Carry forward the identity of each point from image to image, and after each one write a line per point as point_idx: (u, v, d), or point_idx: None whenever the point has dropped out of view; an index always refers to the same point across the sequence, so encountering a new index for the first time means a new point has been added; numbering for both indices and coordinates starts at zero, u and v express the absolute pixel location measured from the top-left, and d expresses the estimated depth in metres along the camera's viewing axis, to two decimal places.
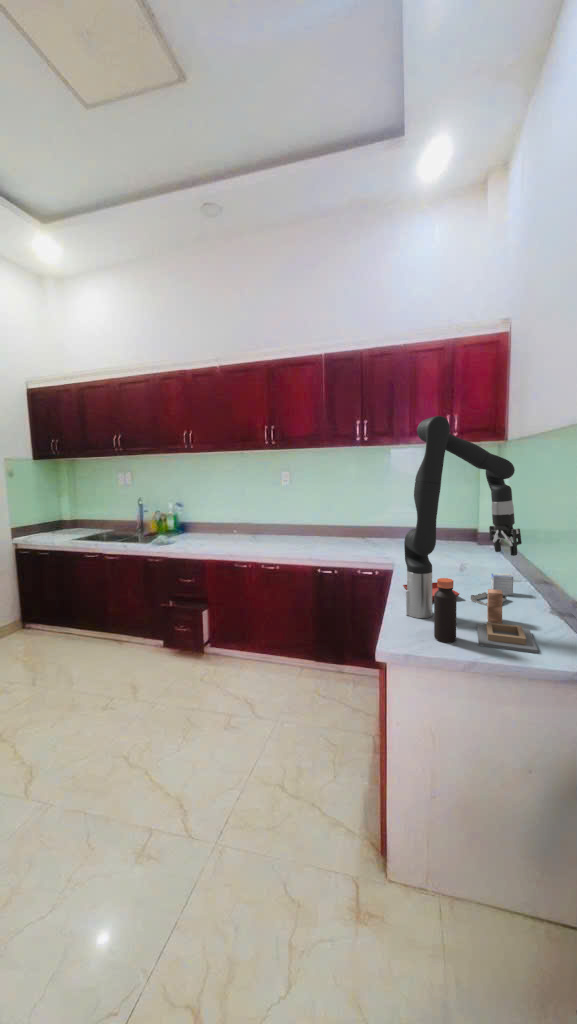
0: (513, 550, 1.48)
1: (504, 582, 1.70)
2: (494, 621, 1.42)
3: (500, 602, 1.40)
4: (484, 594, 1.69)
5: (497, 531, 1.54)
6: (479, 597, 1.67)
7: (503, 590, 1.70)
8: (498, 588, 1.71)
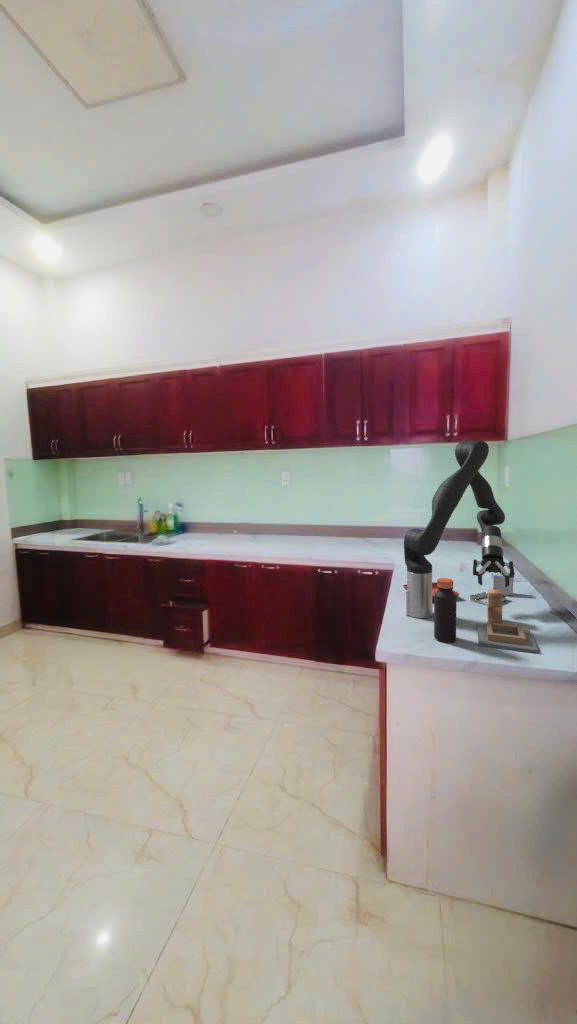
0: (508, 580, 1.47)
1: (504, 582, 1.70)
2: (494, 621, 1.42)
3: (500, 602, 1.40)
4: (483, 594, 1.69)
5: (489, 562, 1.53)
6: (478, 597, 1.68)
7: (503, 590, 1.70)
8: (498, 588, 1.71)
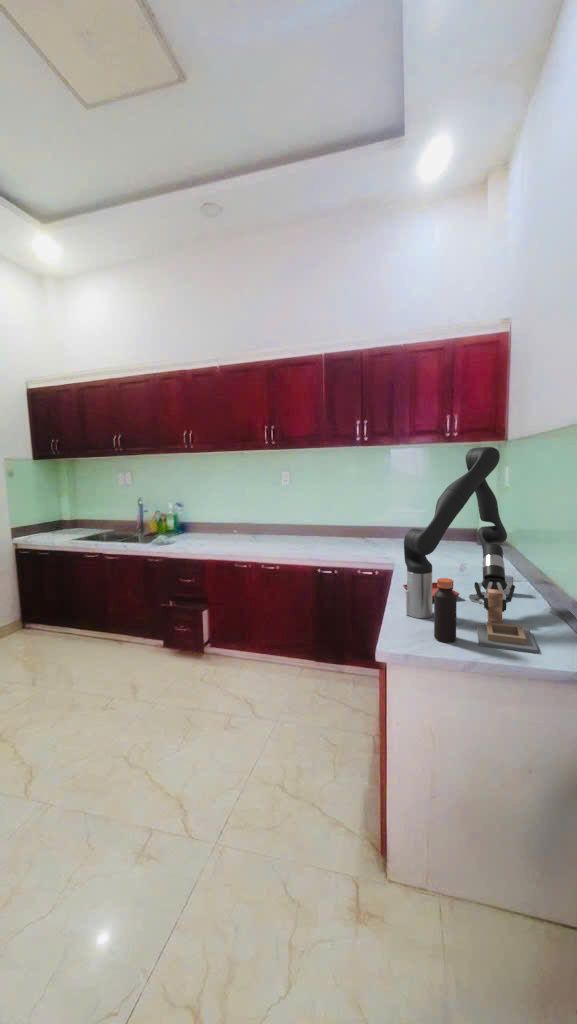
0: (505, 604, 1.41)
1: None
2: (494, 621, 1.42)
3: (500, 602, 1.40)
4: (482, 593, 1.69)
5: (490, 583, 1.46)
6: (477, 596, 1.68)
7: None
8: None
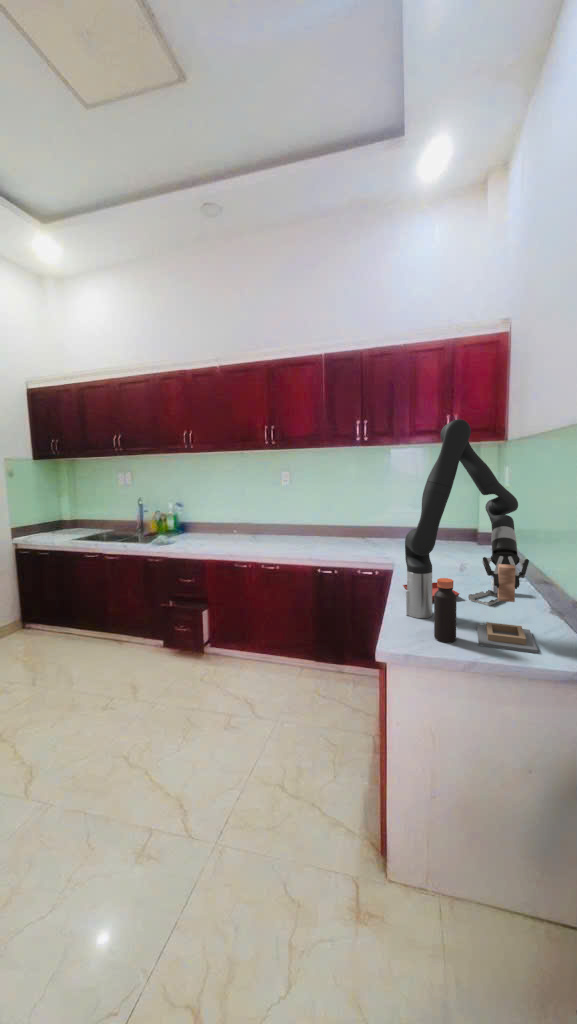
0: (518, 581, 1.24)
1: None
2: (505, 599, 1.25)
3: (512, 578, 1.24)
4: (481, 593, 1.70)
5: (501, 557, 1.30)
6: (477, 596, 1.68)
7: None
8: None
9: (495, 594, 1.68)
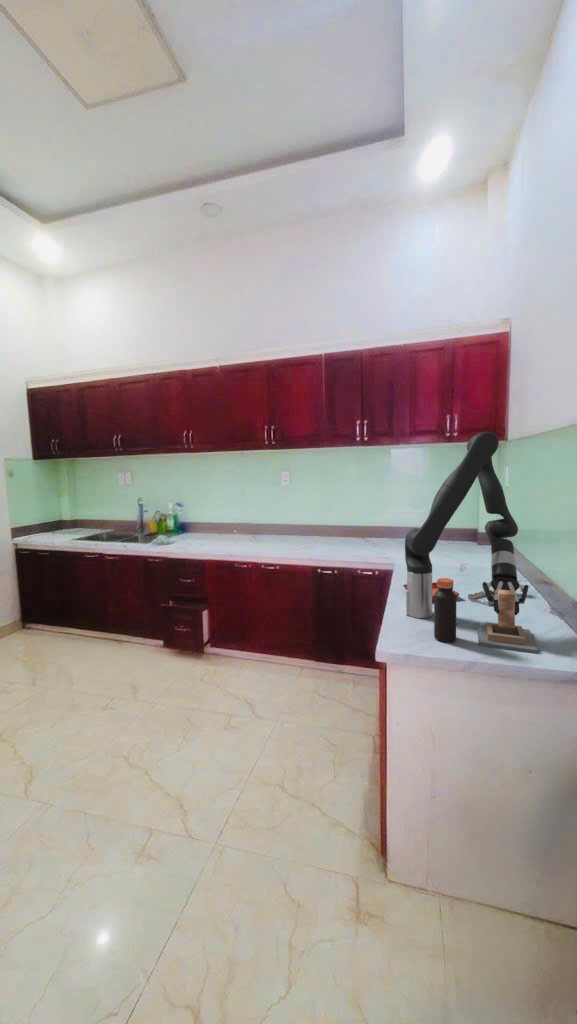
0: (518, 607, 1.25)
1: None
2: (506, 626, 1.26)
3: (512, 604, 1.25)
4: (481, 593, 1.70)
5: (501, 583, 1.30)
6: (476, 596, 1.69)
7: None
8: None
9: None
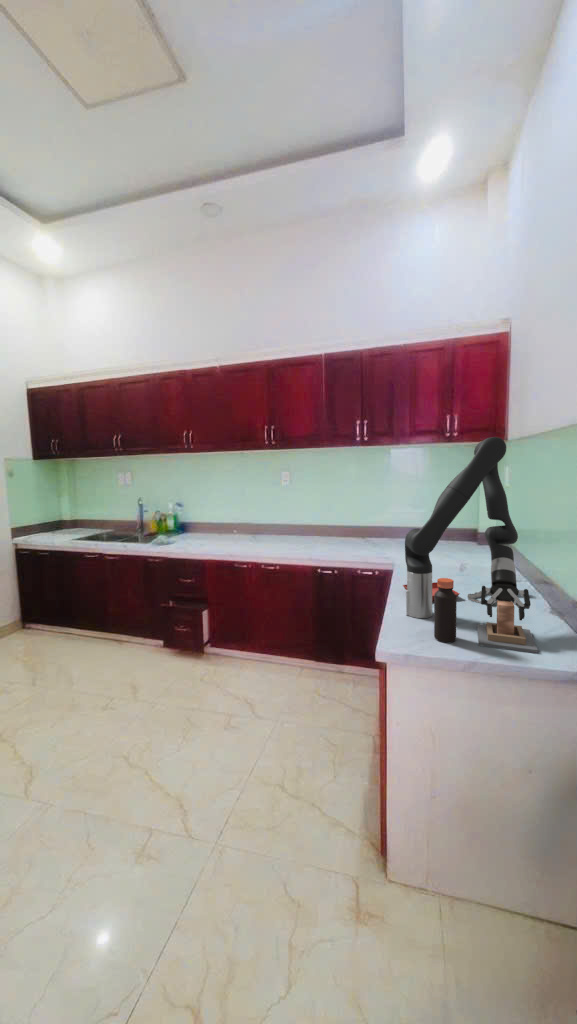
0: (523, 612, 1.25)
1: None
2: None
3: (512, 616, 1.25)
4: None
5: (500, 589, 1.31)
6: (476, 596, 1.69)
7: None
8: None
9: None
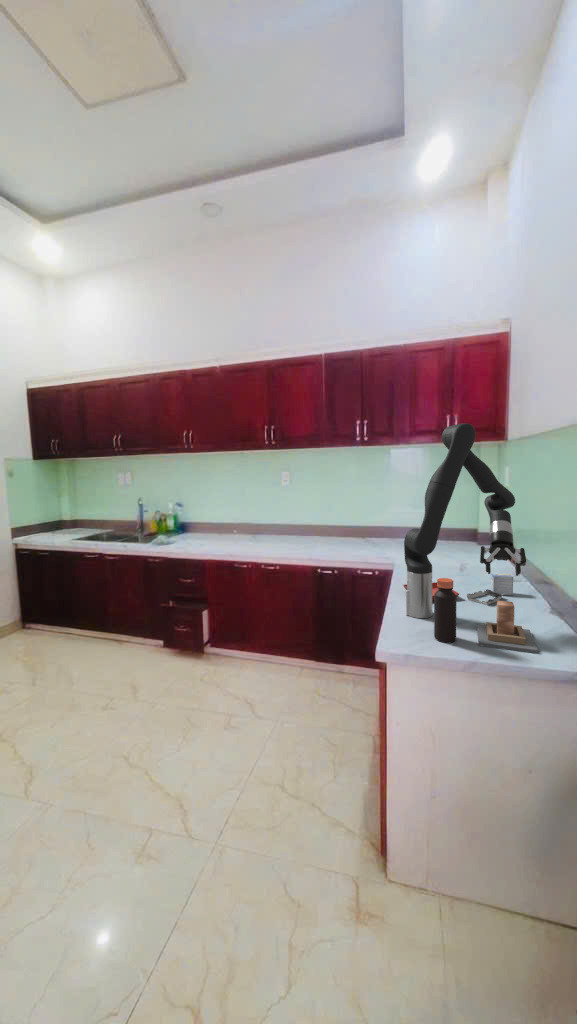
0: (519, 568, 1.34)
1: (504, 582, 1.70)
2: None
3: (512, 616, 1.25)
4: (480, 593, 1.71)
5: (498, 549, 1.40)
6: (475, 596, 1.69)
7: (503, 590, 1.70)
8: (498, 588, 1.71)
9: (493, 593, 1.69)
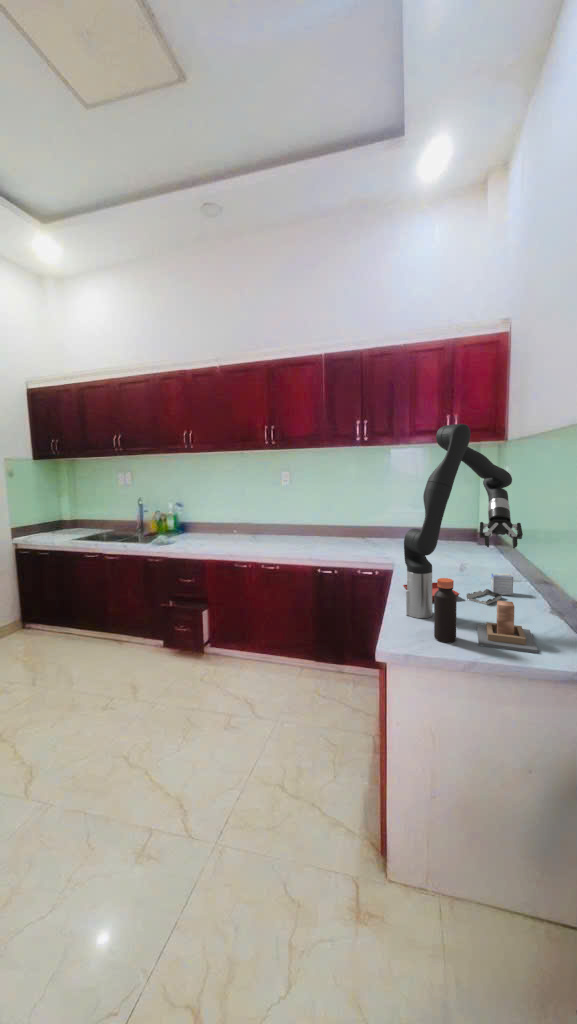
0: (516, 541, 1.43)
1: (504, 582, 1.70)
2: None
3: (512, 616, 1.25)
4: (479, 592, 1.71)
5: (496, 524, 1.49)
6: (474, 595, 1.70)
7: (503, 590, 1.70)
8: (498, 588, 1.71)
9: (493, 593, 1.70)
